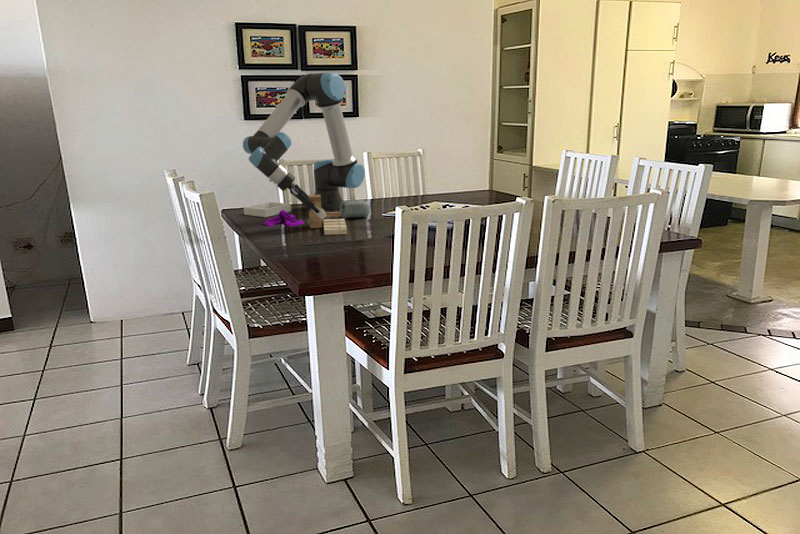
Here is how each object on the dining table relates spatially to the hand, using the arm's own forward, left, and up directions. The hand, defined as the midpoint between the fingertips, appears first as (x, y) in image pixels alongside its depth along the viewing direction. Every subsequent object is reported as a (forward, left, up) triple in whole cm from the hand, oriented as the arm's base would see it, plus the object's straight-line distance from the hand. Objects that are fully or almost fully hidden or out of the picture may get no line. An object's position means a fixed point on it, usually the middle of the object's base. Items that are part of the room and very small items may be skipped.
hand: (324, 216), depth 265 cm
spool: (-21, -1, -5) cm, 22 cm away
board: (+2, +7, -4) cm, 9 cm away
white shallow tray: (-10, -45, -4) cm, 46 cm away
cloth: (+1, -22, -5) cm, 22 cm away
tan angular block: (0, 0, -4) cm, 4 cm away
